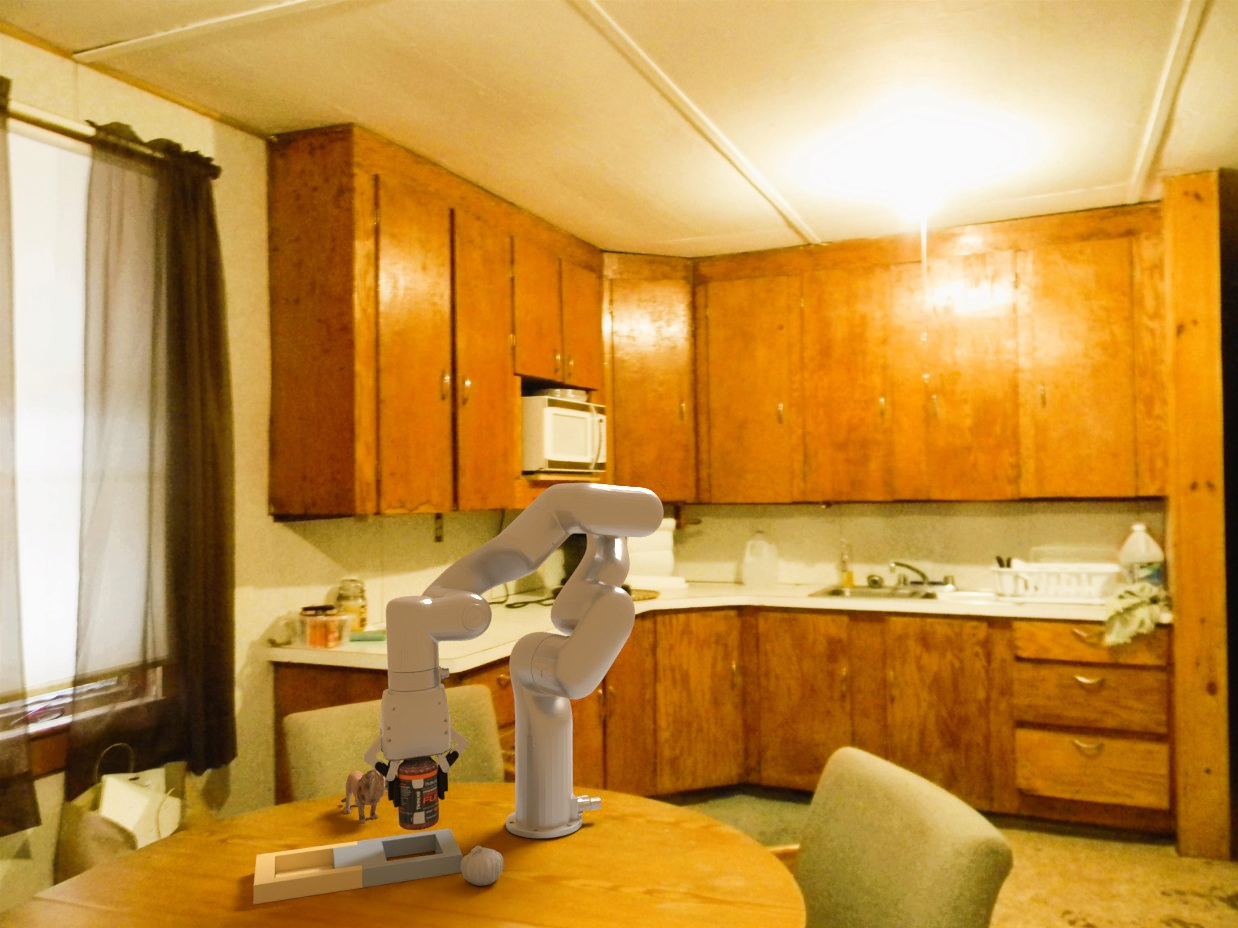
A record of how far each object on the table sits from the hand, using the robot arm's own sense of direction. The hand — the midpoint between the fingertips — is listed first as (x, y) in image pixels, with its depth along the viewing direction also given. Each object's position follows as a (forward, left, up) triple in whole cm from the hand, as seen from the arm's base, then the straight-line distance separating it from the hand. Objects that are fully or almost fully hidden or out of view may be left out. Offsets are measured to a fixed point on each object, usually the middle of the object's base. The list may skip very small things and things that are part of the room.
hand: (418, 799), depth 131 cm
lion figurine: (+6, -24, -9) cm, 27 cm away
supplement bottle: (0, 0, -4) cm, 4 cm away
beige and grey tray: (+8, 0, -9) cm, 12 cm away
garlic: (-8, +10, -9) cm, 16 cm away
